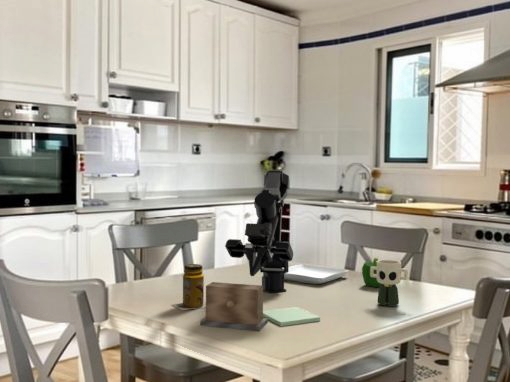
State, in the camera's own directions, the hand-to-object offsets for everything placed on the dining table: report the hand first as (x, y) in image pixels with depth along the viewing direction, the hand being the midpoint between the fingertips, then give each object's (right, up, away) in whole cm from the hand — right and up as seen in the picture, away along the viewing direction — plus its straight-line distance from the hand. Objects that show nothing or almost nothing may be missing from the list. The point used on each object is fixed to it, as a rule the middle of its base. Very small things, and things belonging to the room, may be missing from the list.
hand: (251, 275), depth 155 cm
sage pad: (+10, -11, 0) cm, 15 cm away
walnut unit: (-5, -12, -6) cm, 14 cm away
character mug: (+41, -11, +15) cm, 45 cm away
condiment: (-18, -11, +11) cm, 24 cm away
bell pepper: (+42, -10, +42) cm, 60 cm away
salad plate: (+21, -10, +54) cm, 58 cm away
